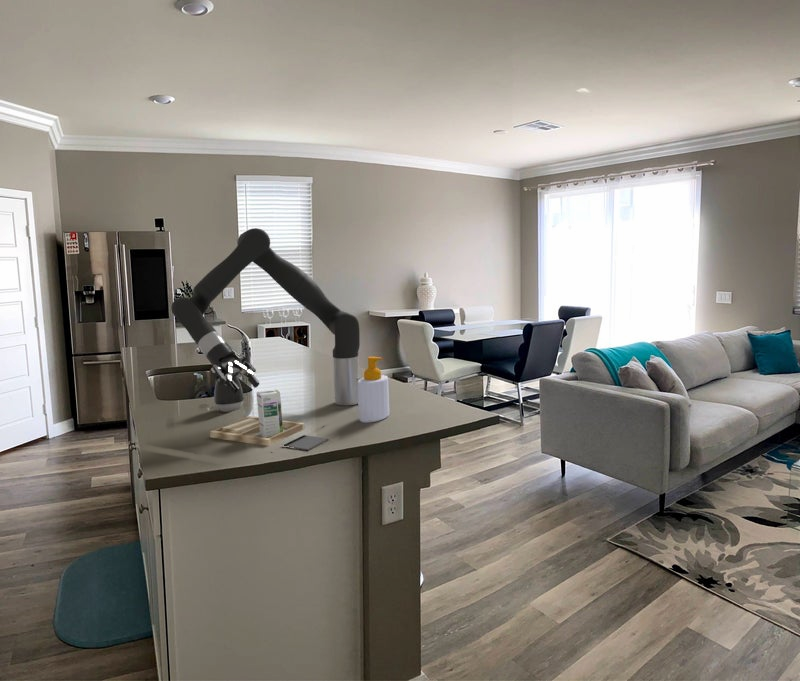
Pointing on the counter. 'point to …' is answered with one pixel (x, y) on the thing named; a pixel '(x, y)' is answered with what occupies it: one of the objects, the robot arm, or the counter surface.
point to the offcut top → (241, 426)
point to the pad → (306, 442)
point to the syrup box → (269, 413)
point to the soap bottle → (373, 393)
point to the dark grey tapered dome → (228, 397)
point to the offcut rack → (248, 437)
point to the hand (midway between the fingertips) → (247, 388)
